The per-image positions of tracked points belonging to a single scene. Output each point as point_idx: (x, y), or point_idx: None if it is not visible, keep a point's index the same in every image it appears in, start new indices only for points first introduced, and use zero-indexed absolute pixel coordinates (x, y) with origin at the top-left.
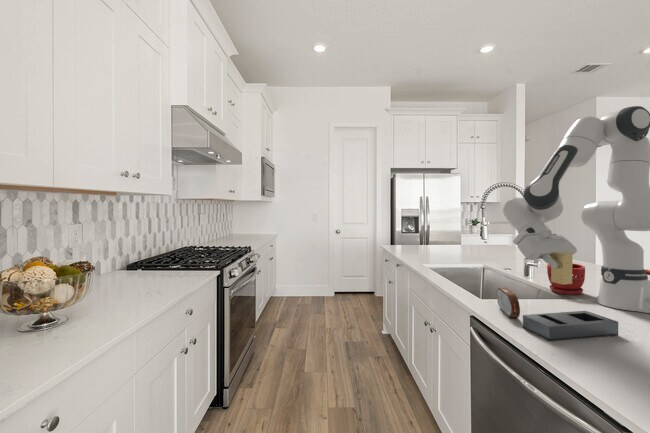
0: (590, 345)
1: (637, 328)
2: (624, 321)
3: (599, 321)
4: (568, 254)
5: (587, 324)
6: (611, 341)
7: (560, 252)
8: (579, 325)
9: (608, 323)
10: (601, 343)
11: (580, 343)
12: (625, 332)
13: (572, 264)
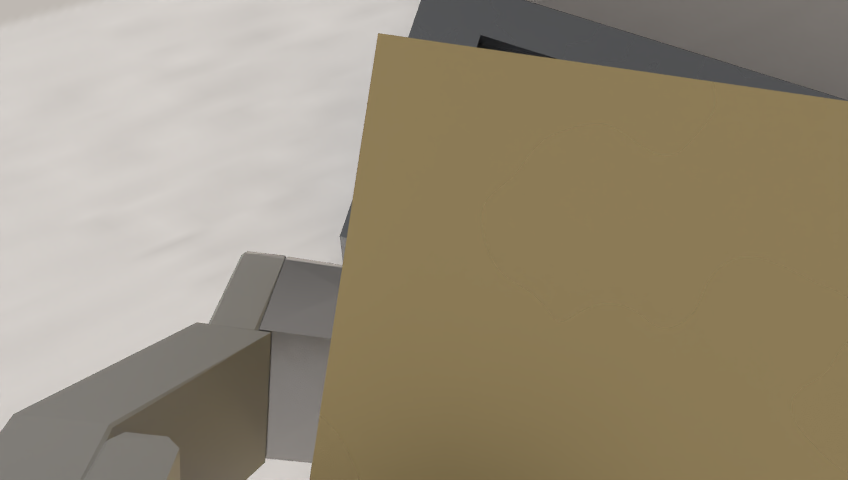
0: (769, 40)
1: (128, 26)
2: (8, 137)
3: (559, 40)
4: (604, 83)
5: (704, 58)
6: (580, 9)
7: (592, 419)
8: (772, 82)
9: (519, 3)
10: (673, 24)
11: (796, 83)
12: (307, 33)
13: (252, 255)
